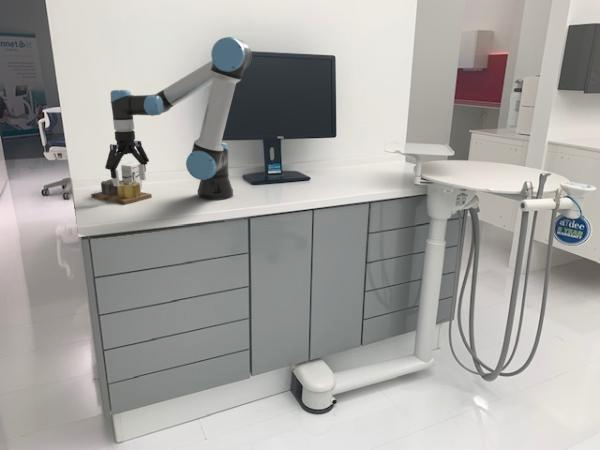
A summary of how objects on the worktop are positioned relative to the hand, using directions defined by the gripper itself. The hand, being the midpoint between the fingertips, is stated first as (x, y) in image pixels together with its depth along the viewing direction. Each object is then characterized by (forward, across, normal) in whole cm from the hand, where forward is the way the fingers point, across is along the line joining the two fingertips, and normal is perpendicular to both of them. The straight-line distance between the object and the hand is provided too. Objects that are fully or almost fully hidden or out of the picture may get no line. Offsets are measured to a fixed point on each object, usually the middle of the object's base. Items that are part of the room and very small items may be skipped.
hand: (130, 183), depth 196 cm
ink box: (+7, -12, -12) cm, 18 cm away
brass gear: (+5, 0, -1) cm, 5 cm away
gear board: (+7, 0, -6) cm, 9 cm away
